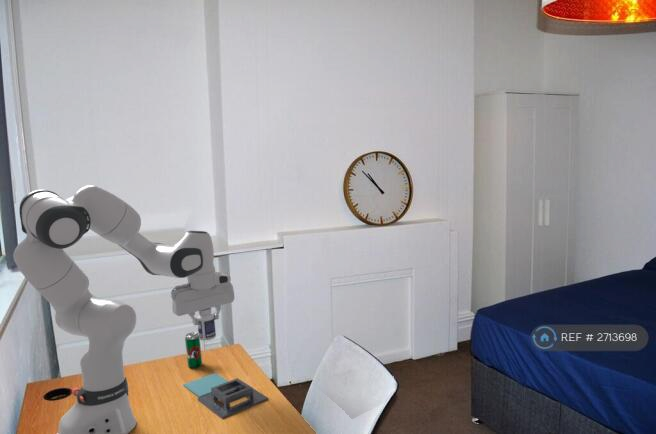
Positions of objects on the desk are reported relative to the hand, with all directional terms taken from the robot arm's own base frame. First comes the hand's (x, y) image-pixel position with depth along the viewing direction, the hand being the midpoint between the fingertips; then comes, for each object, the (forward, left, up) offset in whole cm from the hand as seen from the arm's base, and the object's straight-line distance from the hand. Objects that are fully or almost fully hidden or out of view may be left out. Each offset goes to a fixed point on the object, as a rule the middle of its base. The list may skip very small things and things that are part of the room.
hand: (206, 321), depth 173 cm
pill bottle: (0, 0, -6) cm, 6 cm away
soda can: (+4, +21, -23) cm, 32 cm away
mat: (0, +3, -23) cm, 23 cm away
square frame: (+1, -12, -23) cm, 26 cm away
